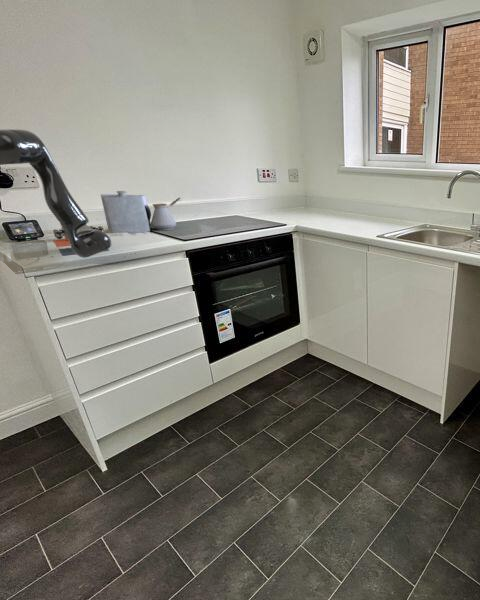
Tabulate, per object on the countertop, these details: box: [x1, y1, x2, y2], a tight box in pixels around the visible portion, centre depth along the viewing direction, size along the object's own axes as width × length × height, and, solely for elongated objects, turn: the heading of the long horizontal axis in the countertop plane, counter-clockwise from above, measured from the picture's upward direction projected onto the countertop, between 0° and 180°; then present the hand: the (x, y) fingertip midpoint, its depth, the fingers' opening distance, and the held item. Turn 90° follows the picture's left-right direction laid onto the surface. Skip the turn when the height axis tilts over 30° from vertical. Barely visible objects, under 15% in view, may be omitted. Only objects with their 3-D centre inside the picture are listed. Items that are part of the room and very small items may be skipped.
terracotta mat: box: [53, 238, 71, 248], centre depth 152 cm, size 14×17×1 cm
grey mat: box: [58, 247, 110, 257], centre depth 140 cm, size 14×12×1 cm
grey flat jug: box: [100, 193, 152, 230], centre depth 179 cm, size 19×5×18 cm, turn 105°
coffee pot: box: [150, 197, 181, 231], centre depth 188 cm, size 21×12×15 cm, turn 172°
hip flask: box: [100, 190, 151, 234], centre depth 171 cm, size 16×4×20 cm, turn 131°
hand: (77, 229), depth 138 cm, fingers open, 8 cm apart
